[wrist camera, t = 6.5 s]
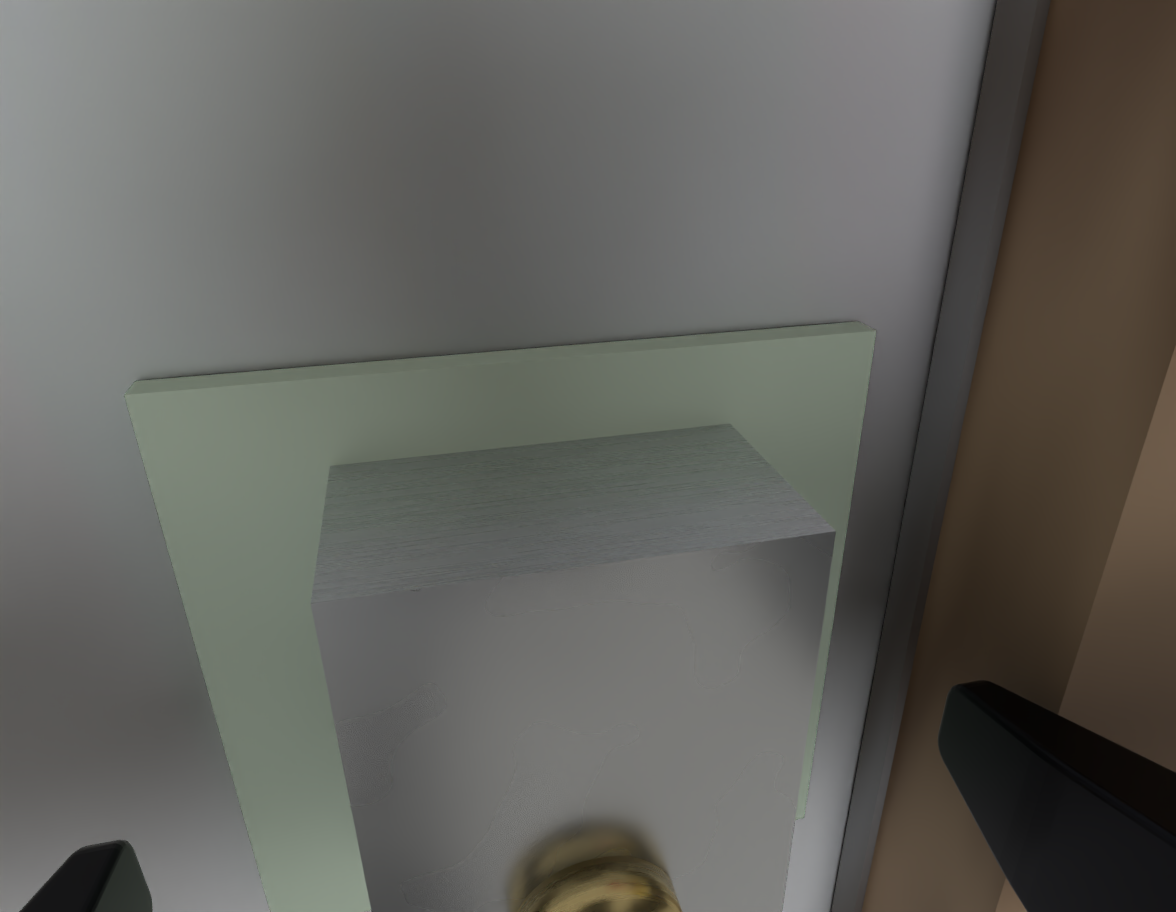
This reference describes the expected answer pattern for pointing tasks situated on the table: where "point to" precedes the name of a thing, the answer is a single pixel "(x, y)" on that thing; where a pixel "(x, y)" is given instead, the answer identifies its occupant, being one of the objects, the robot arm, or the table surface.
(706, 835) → the white block brass knob
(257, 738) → the felt pad
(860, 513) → the table surface
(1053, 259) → the plane body
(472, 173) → the table surface
